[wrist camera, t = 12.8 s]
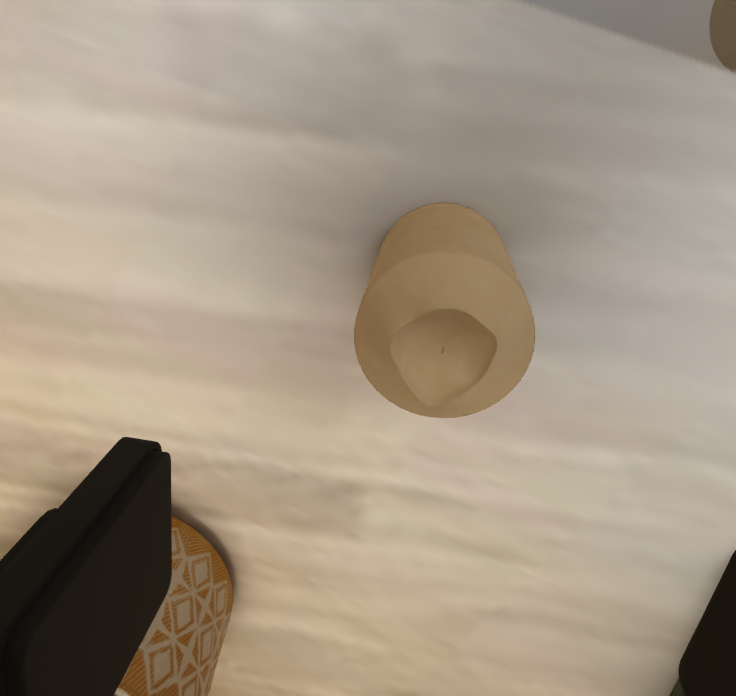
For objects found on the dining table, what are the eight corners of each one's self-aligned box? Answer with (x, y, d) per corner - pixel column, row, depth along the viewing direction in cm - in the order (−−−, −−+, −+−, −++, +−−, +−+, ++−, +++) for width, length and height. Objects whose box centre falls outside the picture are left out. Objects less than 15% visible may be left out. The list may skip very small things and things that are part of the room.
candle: (473, 340, 27) (492, 467, 18) (361, 298, 27) (322, 405, 18) (527, 228, 25) (579, 309, 16) (405, 181, 25) (386, 235, 15)
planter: (46, 621, 38) (-86, 800, 28) (42, 460, 32) (-123, 614, 23) (238, 668, 37) (170, 865, 28) (265, 515, 32) (193, 692, 23)
